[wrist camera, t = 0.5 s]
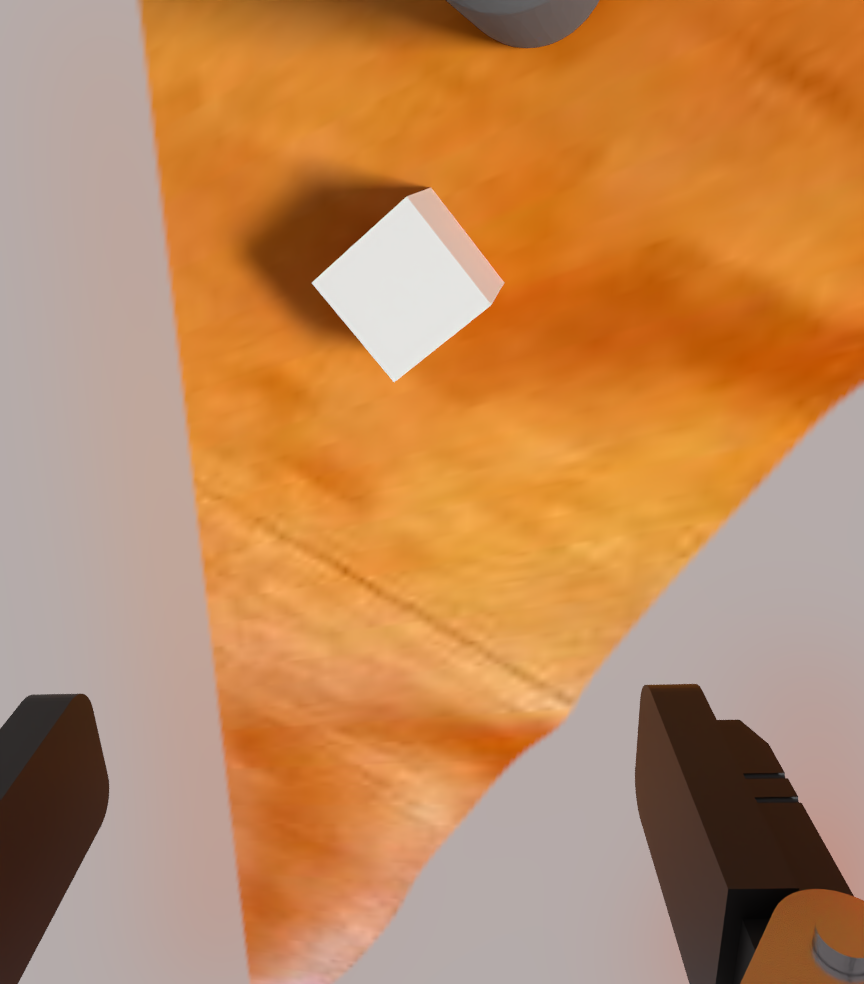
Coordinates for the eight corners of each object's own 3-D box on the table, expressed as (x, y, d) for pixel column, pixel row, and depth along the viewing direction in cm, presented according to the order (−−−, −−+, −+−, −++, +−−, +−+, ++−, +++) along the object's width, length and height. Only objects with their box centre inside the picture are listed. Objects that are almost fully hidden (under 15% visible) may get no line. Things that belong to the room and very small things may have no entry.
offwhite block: (346, 263, 36) (311, 282, 32) (431, 187, 34) (406, 196, 30) (418, 351, 37) (394, 382, 33) (504, 282, 35) (491, 304, 31)
